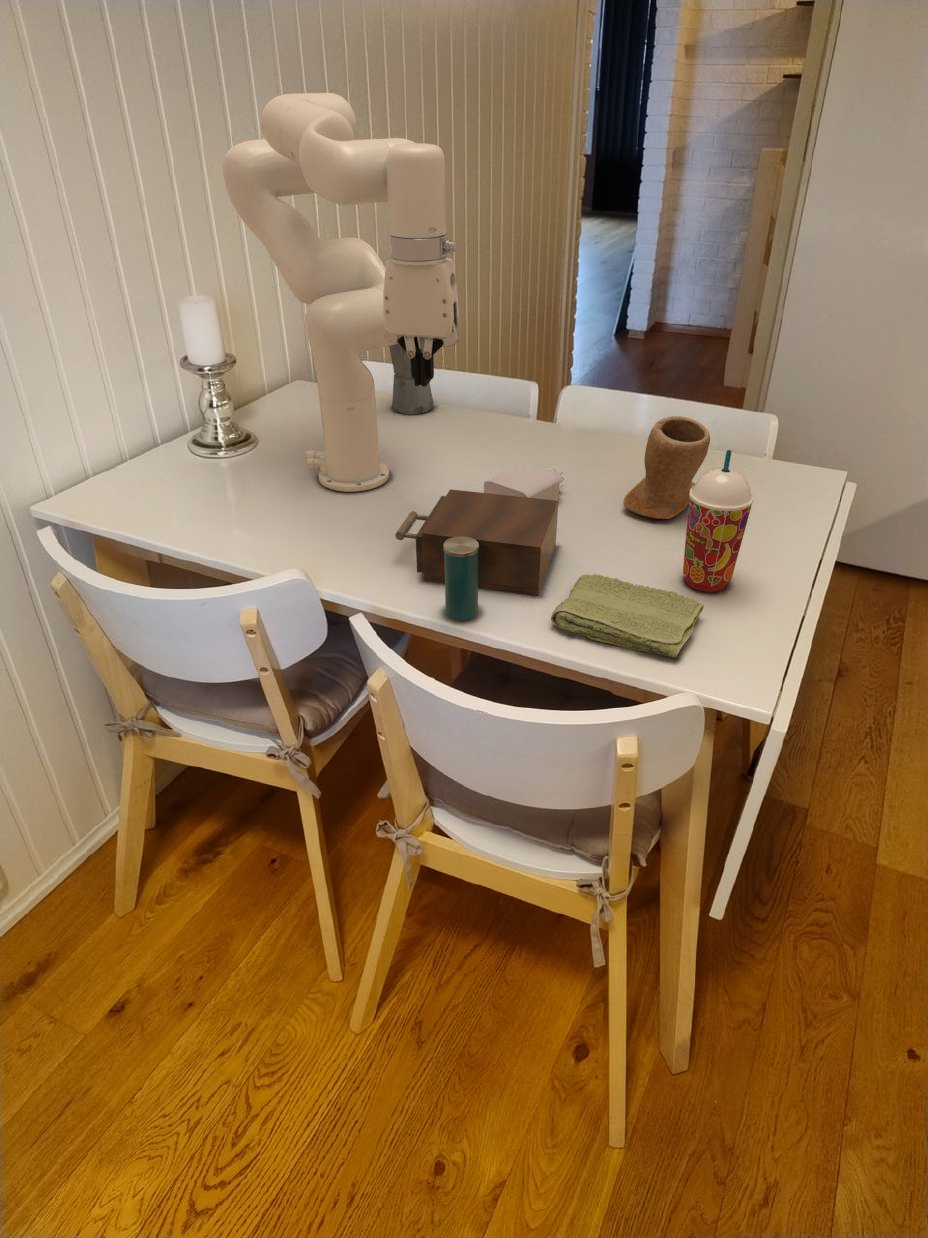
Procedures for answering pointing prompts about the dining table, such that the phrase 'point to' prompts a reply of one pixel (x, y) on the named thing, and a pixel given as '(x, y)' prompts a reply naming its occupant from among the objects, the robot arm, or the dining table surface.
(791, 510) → the dining table surface
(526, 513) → the cabinet
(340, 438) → the robot arm
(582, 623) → the washcloth
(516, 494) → the open book
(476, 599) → the tin
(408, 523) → the drawer
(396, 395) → the moka pot
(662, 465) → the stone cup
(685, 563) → the smoothie
